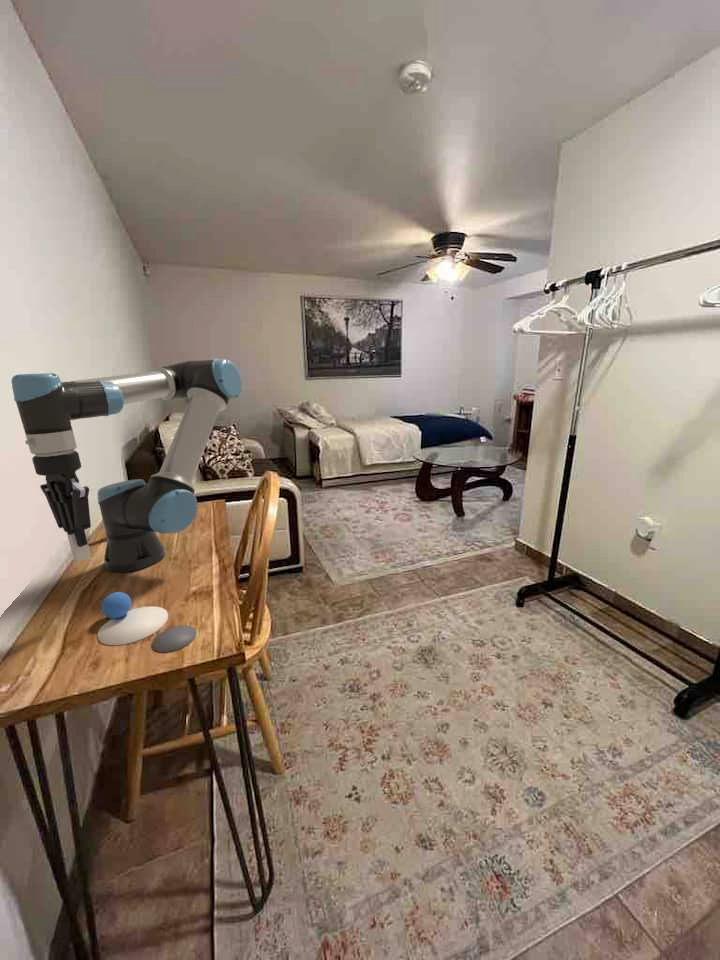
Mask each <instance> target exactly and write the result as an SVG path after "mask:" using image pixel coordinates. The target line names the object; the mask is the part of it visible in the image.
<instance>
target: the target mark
mask: <svg viewBox="0 0 720 960" xmlns="http://www.w3.org/2000/svg"><path fill="white" fill-rule="evenodd" d="M168 619H169V611H168V610H166V609H165V608H163V607H160V606H141V607H137V608H133V609H130V610H129V611H128V613H127V614H126V615H124V616H123V617H120V618H117V619H111V618H110V619H109V620H108V621H107V622H105V623H104V624H103V625H101V627H100V629H99V630H98V632H97V640H98V641H99V642H100V643H101V644H103V645H108V646H123V645H127V644H132V643H135V642H139V641H141V640H144V639H146V638H148V637H151V635H153V634H155V633H156V632H158V631H159V630H161V629H162V628H163V627H164V626H165V625H166V623H167V622H168Z"/></svg>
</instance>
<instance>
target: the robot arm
mask: <svg viewBox="0 0 720 960" xmlns="http://www.w3.org/2000/svg"><path fill="white" fill-rule="evenodd" d="M11 388H12V393H13V400H14V402H15V404H16V407H17V410H18V414H19V417H20V421H21V423H22V427H23V430H24V433H25V437H26V440H25V441H24V443H25V445H28V448H29V452H30V453H31V454H32V455H33V456H32V458H31V460H32V464H33V467H34V470H35V473H36V475H38V476H43V477H45V482H46V483H44V484H40V486H39V487H40V490H41V491H42V493H43V494H44V496H45V498H46V500H47V503H48V505H49V508H50V510H51V513H52V515H53V517H54V520H55V522H56V524H57V527H58V528H59V529H63V531H64V532H65V533H66V535H67V539H68V543H69V547H70V549H71V554H72V557H73V561H74V562H77V563H79V562H82V561H84V560H86V559H89V558H91V557H92V554H91V550H90V546H89V542H88V538H87V535H86V534H87V533H86V530H87V529H90V528H92V525H91V515H90V514H91V513H90V505H89V504H90V503H89V493H90V488H89V486H87V485H85V486H82V485H81V484H80V480H79V478H78V476H77V474H76V472H77V471H78V470H80V469H81V468H82V462H81V459H80V455H79V452H78V451H77V450H76V449H77V442H76V439H75V434H74V431H73V426H72V423H71V422H72V421H74V420H81V419H88V418H89V419H90V418H99V417H108V416H112V415H117V414H119V413H121V412H122V410H123V408H124V406H125V405H128V404H133V403H139V402H144V401H145V402H146V401H150V400H155V399H160V400H163V401H169V400H174V399H175V400H179V399H181V400H184V399H185V400H189V401H188V403H187V406H186V408H185V410H184V412H183V415H182V417H181V419H180V422H179V425H178V426H177V429H176V432H175V433H174V437H173V439H172V441H171V444H170V446H169V448H168V451H167V453H166V455H165V457H164V460H163V463H162V465H161V467H160V469H159V472H156V473H155V474H152V475H151V476H150V477H149V479H148V482H147V483H146V481H145V480H144V479H142V478H138V479H135V478H134V479H131V480H130V479H129V480H125V481H121V482H116V483H111V484H108V485H105V486H103V487H101V488H99V489H98V491H97V501H98V502H97V504H98V505H99V509H100V514H101V518H102V522H103V526H104V532H105V535H106V547H105V552H104V553H105V554H104V558H103V562H104V567H105V569H106V570H107V571H109V572H112V573H126V572H132V571H138V570H141V569H144V568H147V567H150V566H152V565H155V564H157V563H159V562H160V561H161V560H163V559H164V557H165V556H164V555H166V551H165V546H164V544H163V542H162V540H161V539H160V537H159V536H158V534H177V533H180V532H182V531H185V530H186V529H188V528H189V527H190V525H192V523H193V522H194V520H195V519H196V516H197V514H198V513H197V512H198V507H199V506H198V505H197V503H198V500H197V498H196V495H194V494H195V491H196V489H195V487H194V486H193V481H194V478H195V475H196V472H197V471H198V467H199V464H200V463H201V460H202V456H203V454H204V452H205V449H206V446H207V444H208V441H209V439H210V437H211V434H212V432H213V428H214V426H215V424H216V420H217V418H218V415H219V413H220V412H223V411H225V410H226V408H227V406H228V404H229V402H230V400H235V399H236V398H239V397H240V395H241V393H242V389H243V380H242V376H241V374H240V370H239V369H238V367H237V366H236V364H235V363H234V362H232V361H231V360H230V359H227V358H213V359H207V360H206V359H201V360H200V359H199V360H188V361H186V360H185V361H182V362H178V363H174V364H170V365H166V366H157V367H155V368H153V369H152V370H151V371H147V372H138V373H129V374H122V375H121V374H119V375H112V376H105V377H95V378H86V379H78V380H70V381H62V380H61V378H60V376H59V374H57V373H48V372H47V373H45V372H43V373H23V374H16V375H13V377H11ZM157 533H158V534H157Z"/></svg>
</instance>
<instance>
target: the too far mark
mask: <svg viewBox="0 0 720 960" xmlns="http://www.w3.org/2000/svg"><path fill="white" fill-rule="evenodd" d="M196 637H197V630H196V628H195V627H193V626H191V625H185V624H184V625H183V624H182V625H175V626H172V627H168V628H166V629H165V630H163V631H162V632H160V633H158V634H157V635H156V636H155V638H153V640H152V642H151V648H152V649H153V650H154V651H155V652H158V653H172V652H175V651H178V650H180V649H183V648H184V647H187V646H188V645H189V644H191V643H192V642H193V641H194V640H195V639H196Z"/></svg>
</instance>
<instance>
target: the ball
mask: <svg viewBox="0 0 720 960" xmlns="http://www.w3.org/2000/svg"><path fill="white" fill-rule="evenodd" d="M131 608H132V600H131V597H130V596H129V594H126V593H125V592H122V591H117V592H112V593H110V594H108V595H107V596H106V597H105V598H104V600H103V601H102V603H101V612H102V614H103V615H104V616H105V617H107V618H108V619H110V620H111V619H117V618H120V617H123V616H124V615H126V614H127V613H128V611H130V610H131Z"/></svg>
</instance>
